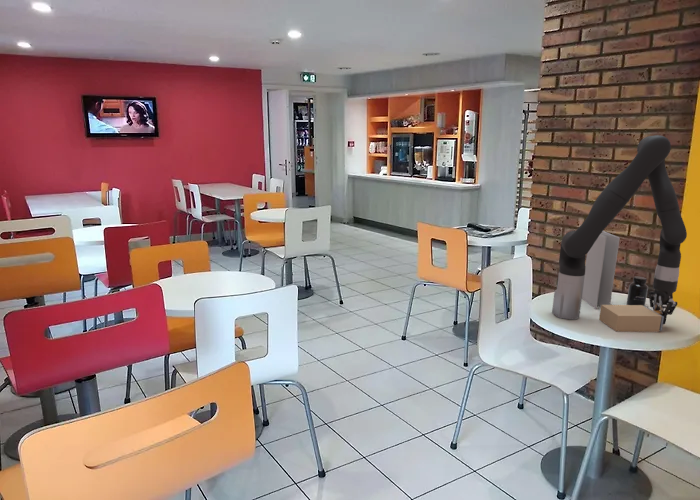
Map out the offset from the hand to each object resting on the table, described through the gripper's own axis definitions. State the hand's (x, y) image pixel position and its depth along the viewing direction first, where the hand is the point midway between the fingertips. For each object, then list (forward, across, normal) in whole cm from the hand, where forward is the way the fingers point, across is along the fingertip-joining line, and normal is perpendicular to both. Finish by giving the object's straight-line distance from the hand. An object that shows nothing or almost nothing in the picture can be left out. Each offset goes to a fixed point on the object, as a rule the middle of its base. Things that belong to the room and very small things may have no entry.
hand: (658, 321), depth 192 cm
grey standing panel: (+2, -25, -11) cm, 28 cm away
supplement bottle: (+2, -24, +6) cm, 25 cm away
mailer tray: (+1, 0, -8) cm, 9 cm away
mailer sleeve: (+2, 0, -11) cm, 12 cm away
